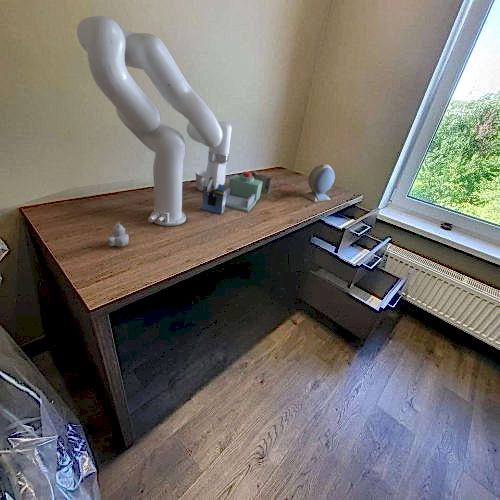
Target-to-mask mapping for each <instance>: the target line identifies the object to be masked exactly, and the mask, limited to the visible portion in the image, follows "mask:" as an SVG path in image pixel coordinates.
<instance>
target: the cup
mask: <svg viewBox="0 0 500 500" xmlns="http://www.w3.org/2000/svg"><path fill="white" fill-rule="evenodd" d="M205 176H206V170H198V171H195V185H196V189H197V190H198V191H200V192H203V186H204V180H205Z"/></svg>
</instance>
